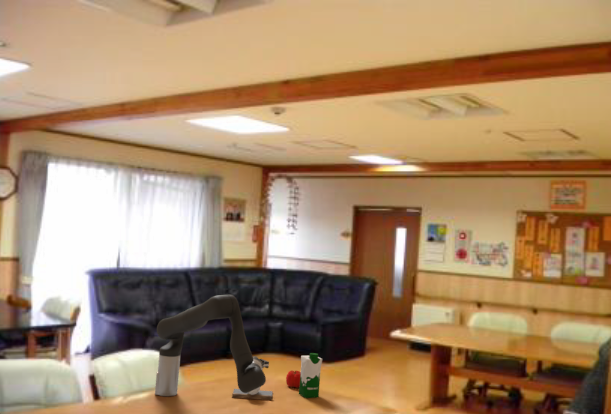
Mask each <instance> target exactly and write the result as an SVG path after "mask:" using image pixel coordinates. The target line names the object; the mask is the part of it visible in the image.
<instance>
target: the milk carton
mask: <svg viewBox="0 0 611 414" xmlns="http://www.w3.org/2000/svg"><path fill="white" fill-rule="evenodd" d="M300 362H301V364H300V365H301V366H300V372H301V375H300V387H298V389H299V390H298V395H300V396H301V397H303V398H304V399H311V398H314V399H315V398H319V394H320V384H321V383H320V381H321V371H322V369H321V368H322V363H323V358H321V357H319V353H316V352H310V353H309V355H301V356H300Z"/></svg>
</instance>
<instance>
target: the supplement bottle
mask: <svg viewBox="0 0 611 414" xmlns="http://www.w3.org/2000/svg"><path fill="white" fill-rule="evenodd" d="M259 390H261V387H259V388H257V389H254V390H252V391H250V392H248V393H249V394H251V395H255V394H257V393H258V392H259Z"/></svg>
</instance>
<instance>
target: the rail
mask: <svg viewBox="0 0 611 414" xmlns="http://www.w3.org/2000/svg"><path fill="white" fill-rule="evenodd" d="M231 394H232V395H231V398H232V399H233V398H234V399H236V398H237V399H249V400H263V401H273V395H272V396H271V395H256V394H255V395H251V394H241V393H233V392H232V393H231Z"/></svg>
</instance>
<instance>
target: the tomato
mask: <svg viewBox="0 0 611 414" xmlns="http://www.w3.org/2000/svg"><path fill="white" fill-rule="evenodd" d="M300 375H301V370H289V371H288V372H287V374H286V377H285V383H286V385H287V386H288V387H289V388H295V389H297V388H299V387H300Z"/></svg>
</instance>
